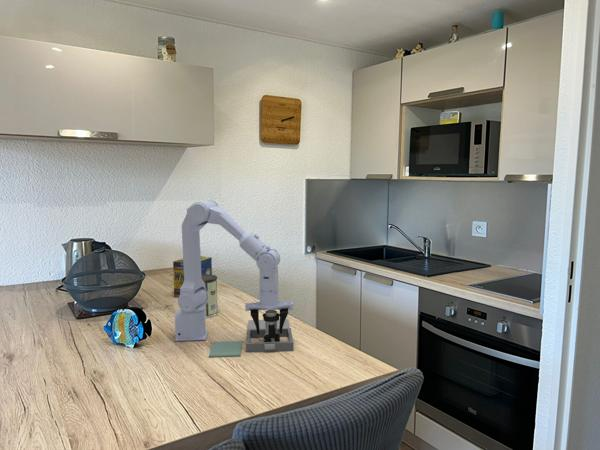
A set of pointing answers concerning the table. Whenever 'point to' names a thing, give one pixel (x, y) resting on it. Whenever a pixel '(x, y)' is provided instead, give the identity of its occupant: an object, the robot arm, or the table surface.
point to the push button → (271, 326)
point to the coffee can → (210, 294)
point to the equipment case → (268, 345)
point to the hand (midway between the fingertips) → (269, 332)
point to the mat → (226, 349)
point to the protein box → (179, 272)
